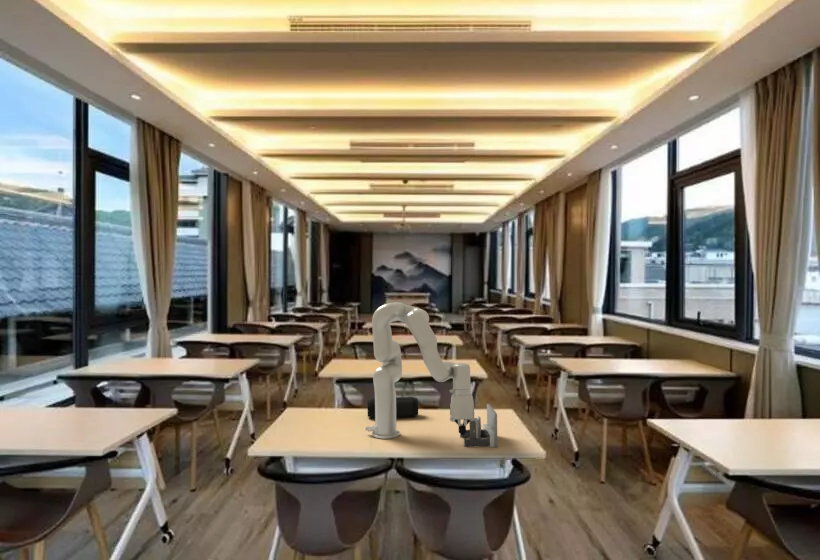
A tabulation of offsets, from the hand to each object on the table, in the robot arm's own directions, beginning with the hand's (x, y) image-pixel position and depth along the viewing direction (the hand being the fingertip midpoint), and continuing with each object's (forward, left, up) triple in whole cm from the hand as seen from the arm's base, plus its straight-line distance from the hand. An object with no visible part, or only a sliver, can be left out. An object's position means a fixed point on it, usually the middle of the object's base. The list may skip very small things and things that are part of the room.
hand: (462, 434), depth 244 cm
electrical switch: (+5, +2, -3) cm, 6 cm away
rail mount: (+6, 0, -3) cm, 7 cm away
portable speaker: (-30, +45, -4) cm, 54 cm away
